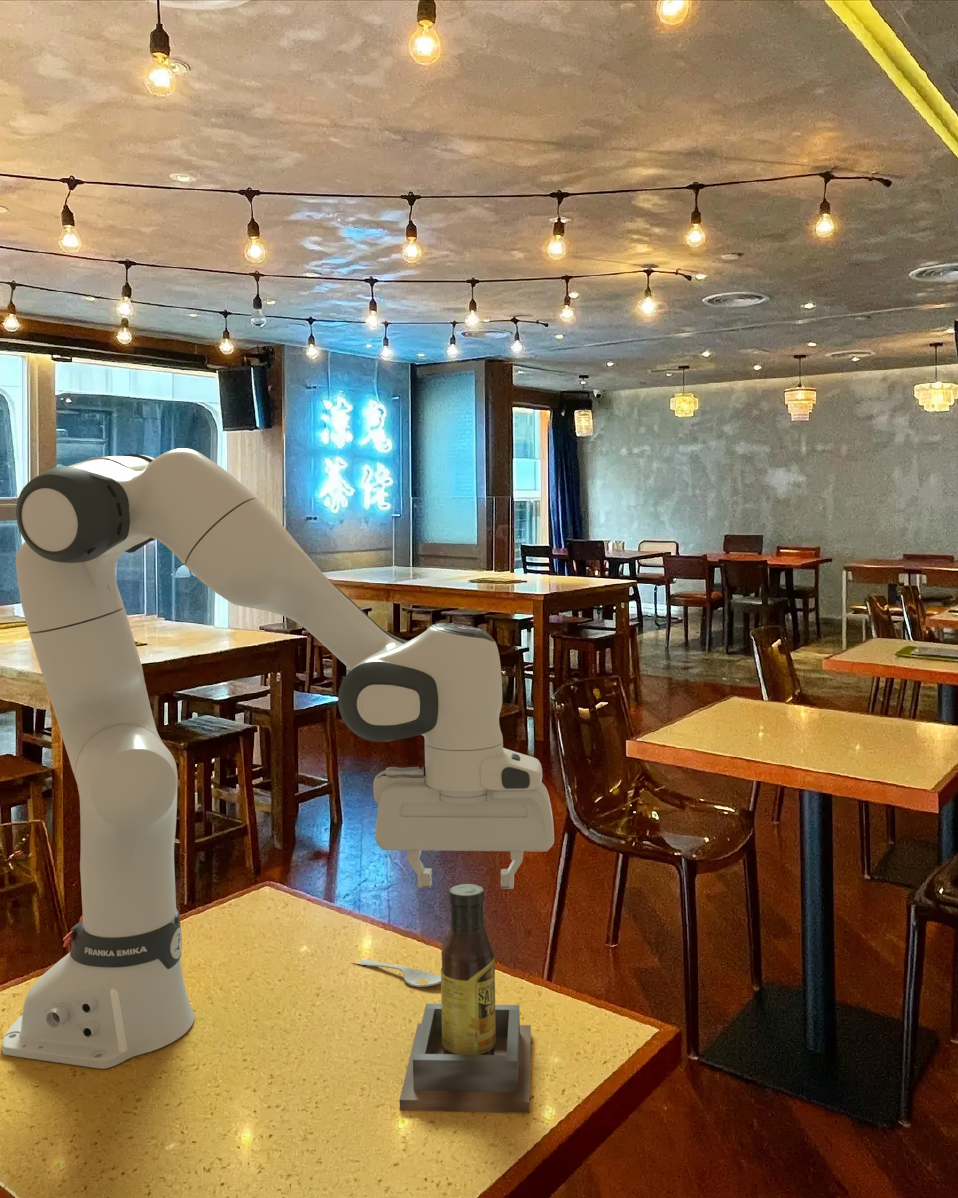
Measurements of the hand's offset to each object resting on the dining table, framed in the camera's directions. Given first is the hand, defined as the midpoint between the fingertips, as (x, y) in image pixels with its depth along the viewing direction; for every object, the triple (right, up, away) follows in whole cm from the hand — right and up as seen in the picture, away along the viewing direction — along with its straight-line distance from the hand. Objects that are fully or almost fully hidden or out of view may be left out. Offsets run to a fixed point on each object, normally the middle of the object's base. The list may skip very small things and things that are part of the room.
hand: (465, 886), depth 111 cm
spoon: (-12, -21, +27) cm, 36 cm away
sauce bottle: (0, -21, +2) cm, 21 cm away
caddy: (0, -22, +2) cm, 22 cm away
